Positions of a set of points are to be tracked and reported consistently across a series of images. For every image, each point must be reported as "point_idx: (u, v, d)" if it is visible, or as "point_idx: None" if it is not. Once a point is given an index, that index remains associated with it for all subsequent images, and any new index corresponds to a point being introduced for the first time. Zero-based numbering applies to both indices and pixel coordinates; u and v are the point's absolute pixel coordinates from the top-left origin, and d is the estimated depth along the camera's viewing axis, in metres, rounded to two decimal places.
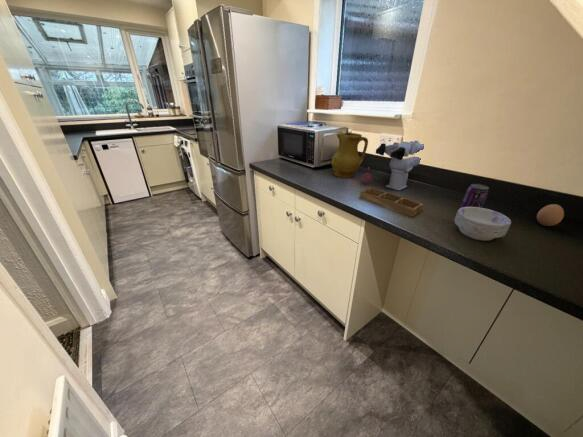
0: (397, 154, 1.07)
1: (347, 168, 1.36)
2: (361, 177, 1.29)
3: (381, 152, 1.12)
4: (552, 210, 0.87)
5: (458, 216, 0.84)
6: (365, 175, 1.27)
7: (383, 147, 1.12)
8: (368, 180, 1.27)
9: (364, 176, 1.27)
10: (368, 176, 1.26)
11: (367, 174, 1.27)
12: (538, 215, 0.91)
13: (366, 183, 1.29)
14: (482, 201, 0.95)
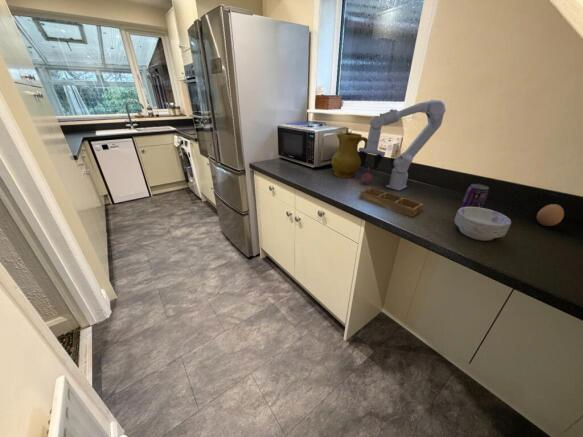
0: (377, 160, 1.21)
1: (347, 168, 1.36)
2: (361, 177, 1.29)
3: (365, 157, 1.27)
4: (552, 210, 0.87)
5: (458, 216, 0.84)
6: (365, 175, 1.27)
7: (363, 156, 1.25)
8: (368, 180, 1.27)
9: (364, 176, 1.27)
10: (368, 176, 1.26)
11: (367, 174, 1.27)
12: (538, 215, 0.91)
13: (366, 183, 1.29)
14: (482, 201, 0.95)
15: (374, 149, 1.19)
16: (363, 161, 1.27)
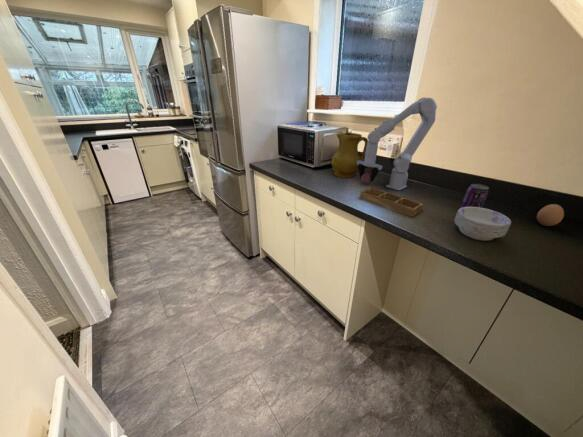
0: None
1: (347, 168, 1.36)
2: (361, 177, 1.29)
3: (364, 170, 1.30)
4: (552, 210, 0.87)
5: (458, 216, 0.84)
6: (365, 175, 1.27)
7: (361, 169, 1.28)
8: (368, 180, 1.27)
9: (364, 176, 1.27)
10: (368, 176, 1.26)
11: (367, 174, 1.27)
12: (538, 215, 0.91)
13: (366, 183, 1.29)
14: (482, 201, 0.95)
15: (372, 163, 1.22)
16: (362, 174, 1.30)
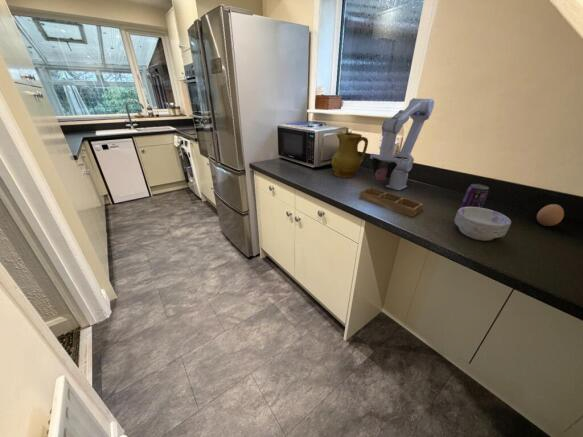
0: (391, 168, 1.08)
1: (347, 168, 1.36)
2: (375, 173, 1.12)
3: (378, 165, 1.13)
4: (552, 210, 0.87)
5: (458, 216, 0.84)
6: (380, 171, 1.10)
7: (376, 164, 1.12)
8: (384, 176, 1.10)
9: (379, 172, 1.10)
10: (384, 172, 1.10)
11: (383, 169, 1.10)
12: (538, 215, 0.91)
13: (381, 180, 1.13)
14: (482, 201, 0.95)
15: (388, 156, 1.06)
16: (376, 169, 1.14)
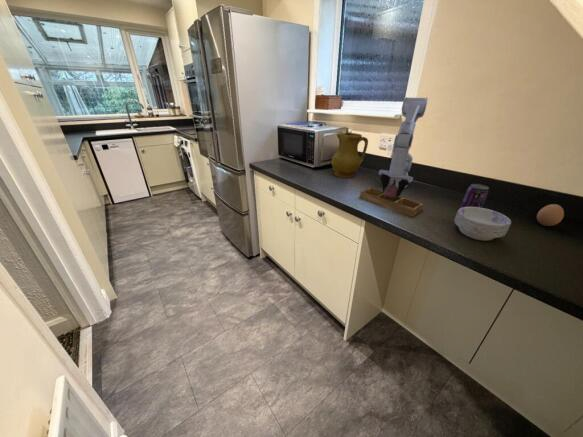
0: None
1: (347, 168, 1.36)
2: (385, 190, 1.04)
3: (388, 181, 1.06)
4: (552, 210, 0.87)
5: (458, 216, 0.84)
6: (390, 188, 1.02)
7: (385, 181, 1.04)
8: (394, 194, 1.02)
9: (389, 190, 1.02)
10: (394, 189, 1.02)
11: (393, 187, 1.02)
12: (538, 215, 0.91)
13: None
14: (482, 201, 0.95)
15: (399, 173, 0.98)
16: (385, 186, 1.06)
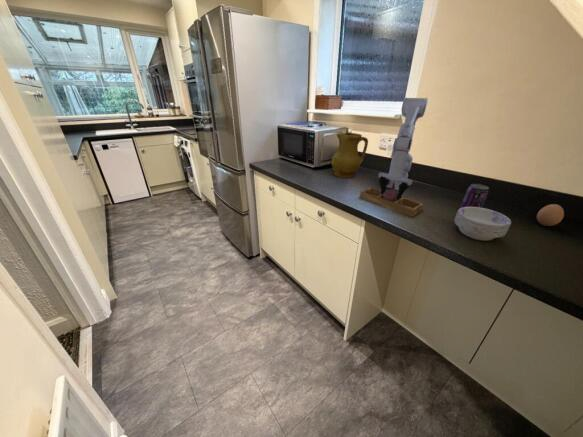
0: None
1: (347, 168, 1.36)
2: (384, 194, 1.05)
3: (386, 184, 1.07)
4: (552, 210, 0.87)
5: (458, 216, 0.84)
6: (389, 192, 1.03)
7: (384, 183, 1.05)
8: (393, 198, 1.03)
9: (388, 194, 1.03)
10: (393, 193, 1.03)
11: (392, 191, 1.03)
12: (538, 215, 0.91)
13: None
14: (482, 201, 0.95)
15: (399, 176, 0.99)
16: (384, 188, 1.07)
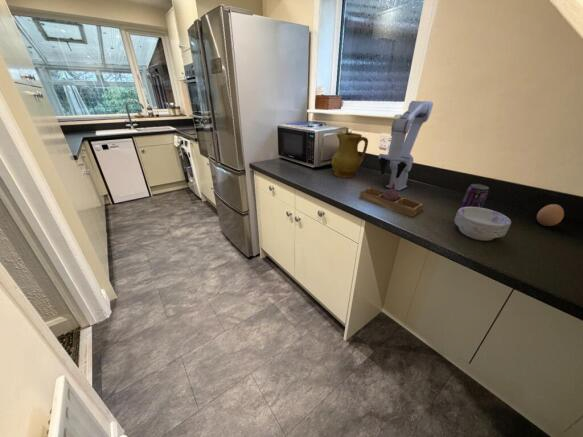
0: (400, 168, 1.09)
1: (347, 168, 1.36)
2: (384, 194, 1.05)
3: (385, 164, 1.14)
4: (552, 210, 0.87)
5: (458, 216, 0.84)
6: (389, 192, 1.03)
7: (383, 164, 1.13)
8: (393, 198, 1.03)
9: (388, 194, 1.03)
10: (393, 193, 1.03)
11: (392, 191, 1.03)
12: (538, 215, 0.91)
13: None
14: (482, 201, 0.95)
15: (397, 156, 1.06)
16: (383, 169, 1.15)
